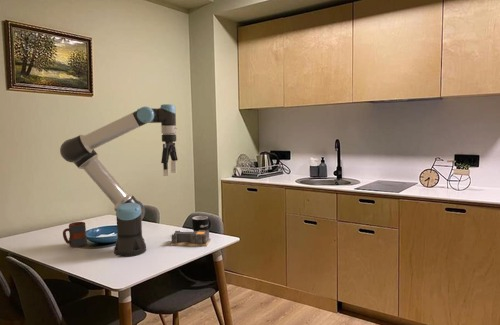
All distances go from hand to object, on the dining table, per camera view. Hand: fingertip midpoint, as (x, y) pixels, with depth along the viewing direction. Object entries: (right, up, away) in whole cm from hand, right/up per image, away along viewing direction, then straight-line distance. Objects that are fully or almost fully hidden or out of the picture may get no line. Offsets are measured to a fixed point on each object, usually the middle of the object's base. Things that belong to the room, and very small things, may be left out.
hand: (170, 174), depth 200 cm
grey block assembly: (+11, -37, 0) cm, 38 cm away
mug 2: (+15, -35, +15) cm, 41 cm away
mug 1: (-49, -38, -3) cm, 62 cm away
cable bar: (+10, -36, 0) cm, 37 cm away
